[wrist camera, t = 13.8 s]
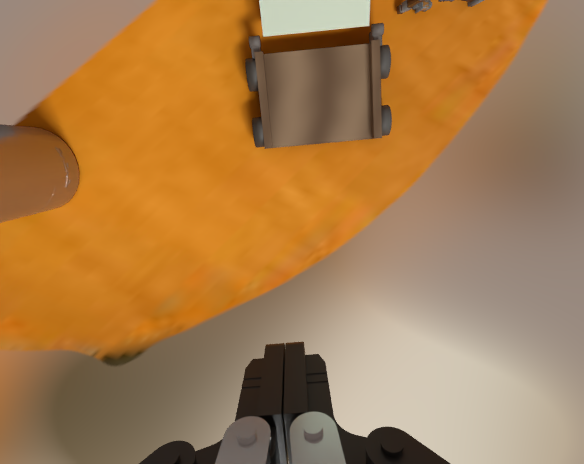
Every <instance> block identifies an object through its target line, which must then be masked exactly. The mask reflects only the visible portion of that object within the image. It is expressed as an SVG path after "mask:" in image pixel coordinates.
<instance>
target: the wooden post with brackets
mask: <svg viewBox="0 0 584 464" xmlns="http://www.w3.org/2000/svg"><path fill="white" fill-rule="evenodd" d="M439 1H440V2H441V1H443V2H444V1H451V2H452V1H453V0H439ZM463 1H467V2H468V7H469V6H471V7H472V6H474V5H476V4H478V3H480V2H482V1H484V0H463ZM431 6H432V2H431V1H430V0H406V1H404V2H403V3H401V5H399V6H398V7H397V14H402V13H403V12H405V11H408V10H410V9H415V13H417V12H419V11H424V12H425V11H427V10H428V9H430V8H431Z"/></svg>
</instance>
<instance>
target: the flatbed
mask: <svg viewBox="0 0 584 464" xmlns="http://www.w3.org/2000/svg"><path fill="white" fill-rule="evenodd" d="M383 33H384V24H383V23H378V24H372V26H371V32H370V33H369V44H360V45H350V46H340V47H330V48H320V49H310V50H300V51H290V52H280V53H270V54H263V51H261V43H260V36H250V37H249V45H250V49H251V50H252V58H251V59H246V74H247V81H248V86H249V90H250V92H251V91H259V99H260V109H261V117H258V118H253V120H252V125H253V135H254V141H255V146H256V147H265V149H266V148H276V147H287V146H298V145H309V144H320V143H330V142H341V141H352V140H363V139H374V138H382V136H385V135H389V133H390V130H391V122H392V118H391V110H390V107H389V106H388V105H384V106H381V79H385V78H387V77H388V75H389V72H390V65H391V53H390V48H389V46H388V45H382V35H383Z"/></svg>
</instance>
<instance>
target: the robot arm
mask: <svg viewBox="0 0 584 464" xmlns="http://www.w3.org/2000/svg"><path fill="white" fill-rule="evenodd" d="M78 184H79V168H78V164H77V161H76V158H75V156H74V155H73V153H72V151H71V149H70V148H69V147H68V146H67V145H66V143H65V142H64V141H63V140H61V139H60V138H59V137H58V136H57V135H55V134H53V133H51V132H49V131H47V130H44V129H41V128H36V127H25V126H11V125H0V223H2V222H5V221H9V220H13V219H17V218H20V217H24V216H28V215H32V214H36V213H40V212H44V211H47V210H51V209H54V208H58V207H61V206H62V205H64V204H66V203H67V202H68V201H69V200H70V199H71V198H72V197H73V196H74V194H75V192H76V191H77V187H78ZM288 458H289V464H450V463H449V462H447V461H446V460H444V459H443V458H441V457H440V456H438V455H437V454H436V453H434V452H433V451H432V450H430V449H429V448H427V447H426V446H424V445H423V444H422V443H420V442H418V441H417V440H416V439H414V438H413V437H412V436H410V435H409V434H407V433H406V432H404V431H402V430H400V429H397V428H394V427H381V428H377V429H375V430H374V431H372V432H371V433H370V434H369V435H368V437H367V438H366V437H362V436H358V435H354V434H351V433H349V432H347V431H345V430H344V429H342V428H341V427H340V426H339V425H338V424H337V422H336V420H335V418H334V415H333V409H332V403H331V397H330V390H329V383H328V378H327V371H326V365H325V361H324V360H323V359H322V358H321V357H320V355H319V354H313V355H305V349H304V342H294V343H286V345H285V344H284V343H282V344H269V345H266V347H265V354H264V358H262V359H253V360H252V361H251V362H250V364H249V365H248V366H247V367H246V369H245V375H244V381H243V384H242V390H241V394H240V399H239V404H238V408H237V413H236V419H235V422H234V423H232V424H231V425H230V426H229V428H227V430H226V432H225V434H224V437H223V439H222V440H221V441H219V442H218V443H216V444H214V445H211V446H209V447H206V448H203V449H201V450H198V451H195V450H194V448H193V446H192V445H191V444H189V443H188V442H185V441H173V442H170V443H167V444H165V445H163V446H161V447H159V448H158V449H157V450H155V451H154V452H153V453H152V454H150V455H149V456H148V457H147V458H146V459H144V460H143V461H142V462H141V463H139V464H288Z"/></svg>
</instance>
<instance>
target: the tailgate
mask: <svg viewBox="0 0 584 464" xmlns="http://www.w3.org/2000/svg"><path fill="white" fill-rule="evenodd" d="M259 4H260V13H261V21H262V30H263V37H265V36H275V35H285V34H295V33H304V32H314V31H324V30H334V29H344V28H354V27H363V26H369V19H370V0H259Z"/></svg>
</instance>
